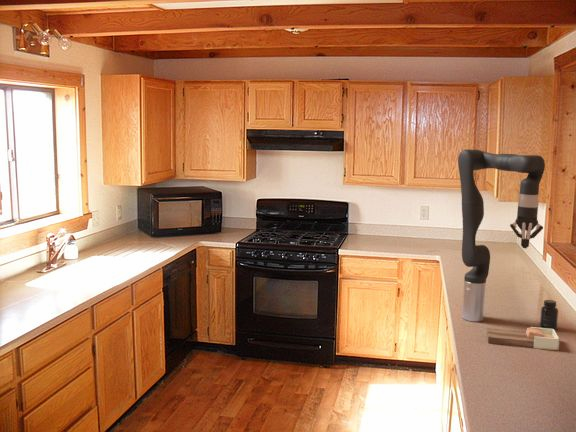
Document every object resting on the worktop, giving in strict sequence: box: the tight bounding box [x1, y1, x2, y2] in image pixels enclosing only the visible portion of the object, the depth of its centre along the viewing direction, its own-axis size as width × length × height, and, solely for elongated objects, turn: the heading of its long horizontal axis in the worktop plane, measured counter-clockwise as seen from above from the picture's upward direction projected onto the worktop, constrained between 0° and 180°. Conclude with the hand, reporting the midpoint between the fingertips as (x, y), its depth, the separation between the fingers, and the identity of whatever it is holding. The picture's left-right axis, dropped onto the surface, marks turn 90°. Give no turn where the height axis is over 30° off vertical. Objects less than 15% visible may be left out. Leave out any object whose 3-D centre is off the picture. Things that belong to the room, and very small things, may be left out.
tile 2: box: [542, 334, 554, 338], centre depth 247 cm, size 5×5×2 cm
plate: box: [485, 327, 534, 349], centre depth 250 cm, size 11×17×2 cm, turn 76°
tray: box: [529, 326, 560, 351], centre depth 247 cm, size 12×9×5 cm
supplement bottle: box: [539, 299, 559, 331], centre depth 265 cm, size 7×7×12 cm
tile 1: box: [525, 327, 543, 339], centre depth 248 cm, size 5×5×2 cm
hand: (524, 247), depth 250 cm, fingers closed
